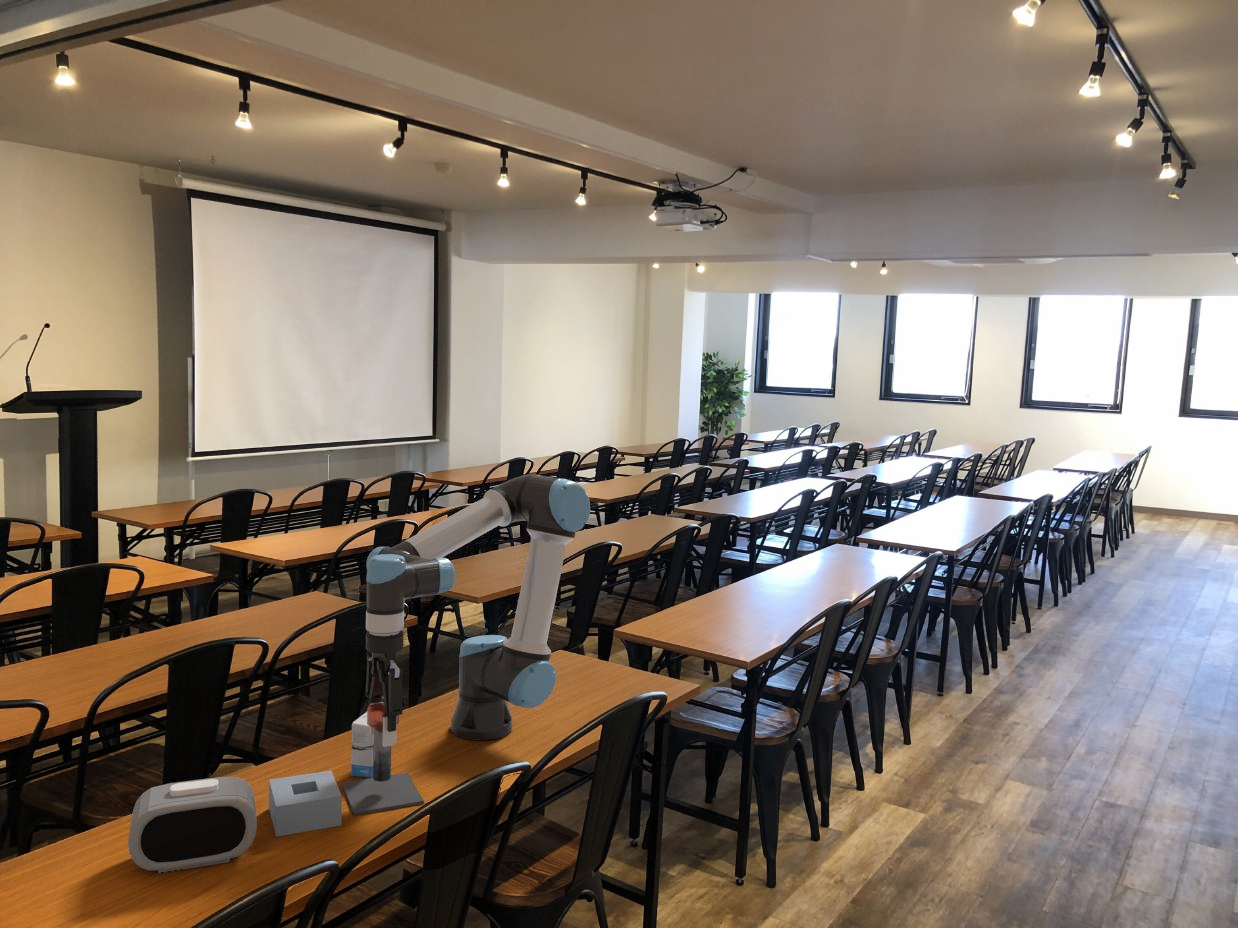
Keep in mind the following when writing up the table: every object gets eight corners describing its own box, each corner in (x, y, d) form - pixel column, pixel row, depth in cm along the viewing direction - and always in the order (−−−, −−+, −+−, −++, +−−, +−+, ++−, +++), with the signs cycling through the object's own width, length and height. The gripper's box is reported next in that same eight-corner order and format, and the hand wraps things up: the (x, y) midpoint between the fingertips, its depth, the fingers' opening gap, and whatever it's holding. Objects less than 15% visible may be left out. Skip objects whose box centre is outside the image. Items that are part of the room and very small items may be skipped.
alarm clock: (128, 881, 159) (127, 806, 157) (132, 853, 168) (131, 782, 166) (257, 860, 167) (257, 789, 166) (254, 834, 176) (255, 767, 174)
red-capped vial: (372, 787, 189) (374, 711, 187) (361, 775, 194) (362, 701, 192) (402, 779, 193) (404, 705, 191) (390, 768, 198) (392, 695, 196)
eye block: (331, 798, 191) (331, 770, 191) (341, 825, 181) (341, 795, 180) (269, 808, 186) (269, 779, 185) (275, 836, 175) (276, 806, 175)
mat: (407, 774, 203) (407, 772, 203) (423, 803, 191) (423, 800, 191) (341, 785, 197) (341, 782, 197) (354, 815, 185) (354, 812, 185)
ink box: (370, 778, 201) (371, 726, 200) (349, 775, 202) (350, 723, 201) (388, 762, 209) (389, 712, 208) (368, 759, 210) (368, 709, 209)
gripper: (421, 640, 185) (419, 751, 187) (384, 616, 200) (382, 719, 203) (385, 646, 180) (383, 759, 183) (350, 621, 196) (348, 726, 198)
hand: (382, 738), depth 193 cm, fingers closed on red-capped vial, 6 cm apart
